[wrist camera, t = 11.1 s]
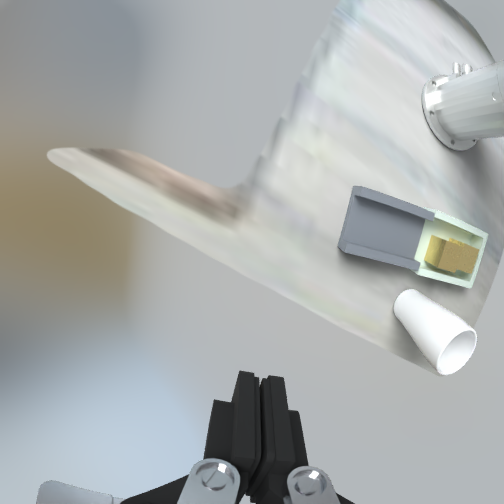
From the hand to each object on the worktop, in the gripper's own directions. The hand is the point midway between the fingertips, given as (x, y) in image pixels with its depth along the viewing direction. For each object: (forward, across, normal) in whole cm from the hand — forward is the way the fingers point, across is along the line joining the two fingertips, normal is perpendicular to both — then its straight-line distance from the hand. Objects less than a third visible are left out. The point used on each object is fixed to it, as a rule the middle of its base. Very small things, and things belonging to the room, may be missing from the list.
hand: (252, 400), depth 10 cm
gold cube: (+27, -28, -6) cm, 39 cm away
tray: (+27, -29, -6) cm, 40 cm away
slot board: (+27, -17, -6) cm, 33 cm away
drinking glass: (+28, -26, +4) cm, 38 cm away
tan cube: (+27, -32, -6) cm, 42 cm away
